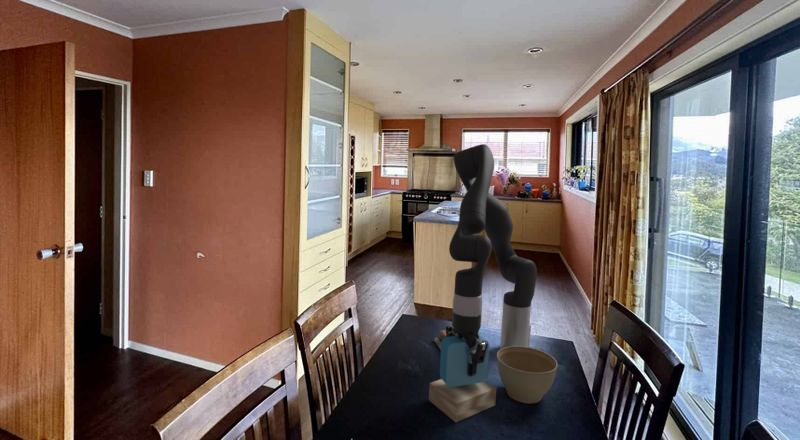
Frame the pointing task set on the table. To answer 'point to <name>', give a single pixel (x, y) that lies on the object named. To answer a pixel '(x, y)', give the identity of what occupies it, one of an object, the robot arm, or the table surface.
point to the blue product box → (460, 363)
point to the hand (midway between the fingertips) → (463, 370)
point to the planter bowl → (526, 372)
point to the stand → (462, 398)
